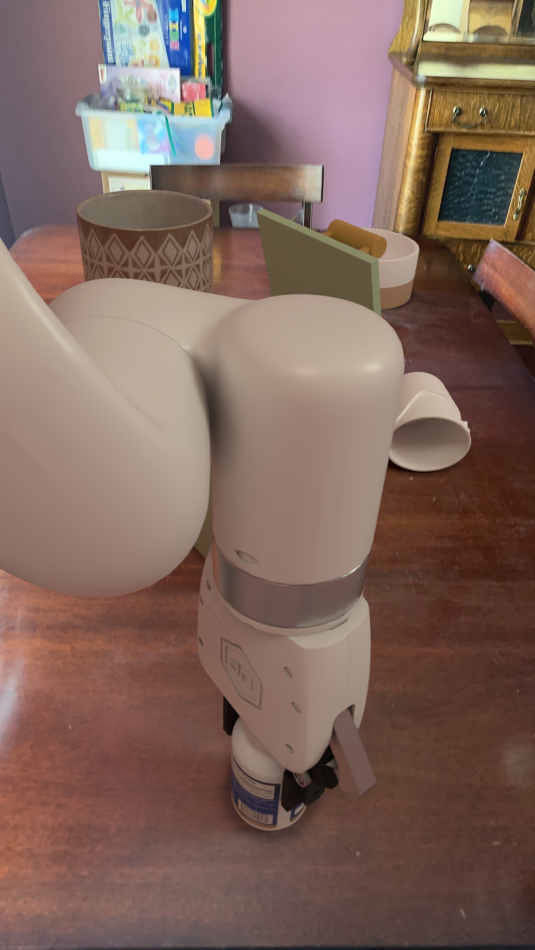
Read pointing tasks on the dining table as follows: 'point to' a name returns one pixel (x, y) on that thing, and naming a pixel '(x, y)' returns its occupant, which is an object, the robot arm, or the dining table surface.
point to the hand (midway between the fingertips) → (272, 755)
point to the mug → (427, 426)
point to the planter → (148, 238)
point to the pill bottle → (258, 782)
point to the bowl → (396, 268)
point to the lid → (322, 260)
